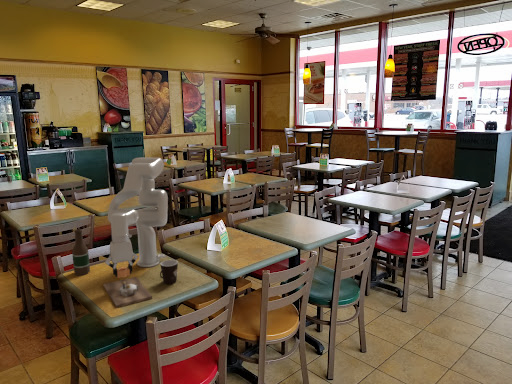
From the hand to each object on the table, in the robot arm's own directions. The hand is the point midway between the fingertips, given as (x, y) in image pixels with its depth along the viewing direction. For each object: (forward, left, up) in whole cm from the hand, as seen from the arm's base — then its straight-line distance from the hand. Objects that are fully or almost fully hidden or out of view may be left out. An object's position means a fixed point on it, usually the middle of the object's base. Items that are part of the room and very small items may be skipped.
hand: (123, 274), depth 190 cm
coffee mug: (-20, +5, -8) cm, 22 cm away
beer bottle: (+14, -32, -8) cm, 36 cm away
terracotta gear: (0, 0, -1) cm, 1 cm away
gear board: (0, +5, -8) cm, 9 cm away
